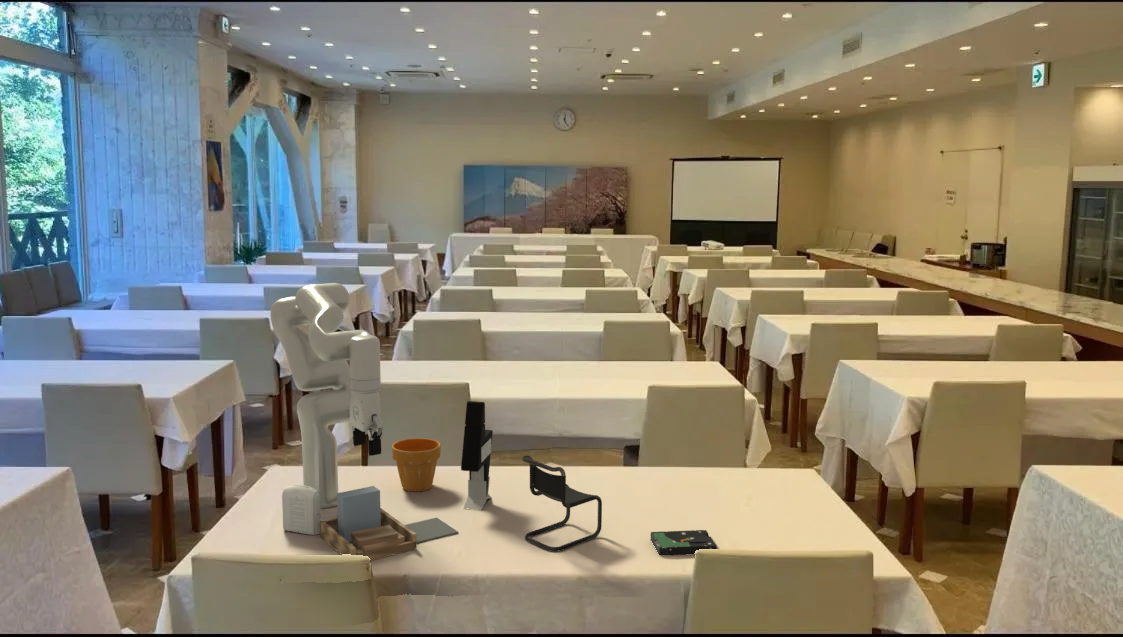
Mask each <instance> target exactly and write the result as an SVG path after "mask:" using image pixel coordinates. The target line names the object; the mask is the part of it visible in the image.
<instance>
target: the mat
mask: <svg viewBox="0 0 1123 637" xmlns="http://www.w3.org/2000/svg"><path fill="white" fill-rule="evenodd" d="M404 525H405V526H406V527H408V528H409V529H411V530H412V531H413V532H415V533H416V540H417V544H420V543H424V542H428V541H433V540H437V539H441V538H444V537H448V536H452V535H457V534H459V531H458V530H456V529H455V528H454V527H452V526H451V525H449V524H448V523H447V522H445V521H443V520H441V519H440V518H439V517H433V518H429V519H425V520H420V521H416V522H412V523H408V524H404Z"/></svg>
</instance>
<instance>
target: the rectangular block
mask: <svg viewBox="0 0 1123 637" xmlns="http://www.w3.org/2000/svg"><path fill="white" fill-rule="evenodd" d="M340 492H341V491H340ZM336 506H337V510H336V512H337V518H338V534H340V535H341V536H342V537H343V538H344V539H346V540H347V541H348V542H349V543H350V542H353V539H352V538H351V532H353V531H359V530H364V529H370V528H375V527H381V513H380V508H381V490H380V489H379V488H377V487H376V486H374V485H371V486H365V487H362V488H357V489H352V490H348V491H347V490H346V491H342V492H341V493H337V505H336Z"/></svg>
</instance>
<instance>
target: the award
mask: <svg viewBox="0 0 1123 637" xmlns="http://www.w3.org/2000/svg"><path fill="white" fill-rule="evenodd" d="M465 408H466V409H465V420H464V425H465V426H464V431H463V432H464V433H463V440H462V441H463V443H462V453H461V462H460V463H461V465H460V471H463V472H468V473H469V474H468V475H469V478H468V479H467V484H468V485H467V497H466V501H465V503H464V505H463V509H464V508H469V509H468V510H470V509H478V510H477V511H482V510H483V509H484V506H485V504H486V503H487V500H488V499H492V496H491V495H490V494H489V491H490V490H489V489H490V488H489V487H490V481H491V480H490V478H491V477H490V475H489V474H490V466H491V456H492V455H491V454H492V444H493V433H494V432H493V431H494V430H491V429H486V403H485V401H473V400H468V401H467V402H466V407H465Z"/></svg>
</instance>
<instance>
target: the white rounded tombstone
mask: <svg viewBox="0 0 1123 637" xmlns="http://www.w3.org/2000/svg"><path fill="white" fill-rule="evenodd" d="M281 493H282V494H281V499H282V500H281V501H282V502H281V503H282V505H281V506H282V529H283V531H286V530H287V531H286V532H291V531H292V533H298V532H299V534H305V535H311V536H315V535H314V534H316V535H318V534H320V521H322V508H321V496H320V492H319V491H318V490H316V489H314V488H312V487H309V486H304V484H291V485H287V486H285V487H283V489H282V492H281Z"/></svg>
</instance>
